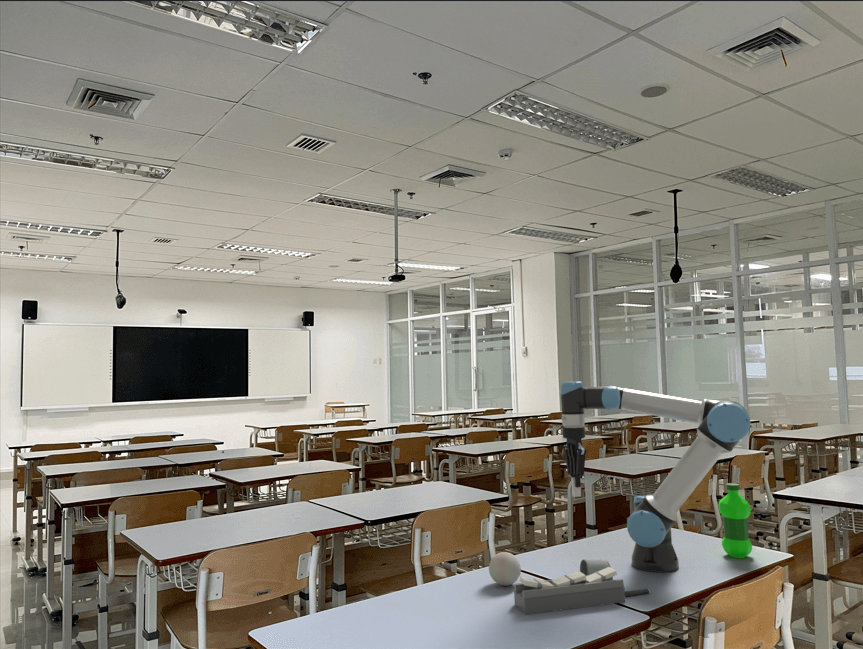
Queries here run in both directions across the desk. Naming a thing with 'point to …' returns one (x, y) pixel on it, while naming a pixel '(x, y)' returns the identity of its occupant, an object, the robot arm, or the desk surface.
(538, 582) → the end rocker
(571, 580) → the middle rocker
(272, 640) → the desk surface
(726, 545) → the plastic bottle
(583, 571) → the ceramic mug
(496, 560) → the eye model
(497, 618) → the desk surface
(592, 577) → the rocker
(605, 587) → the power strip
